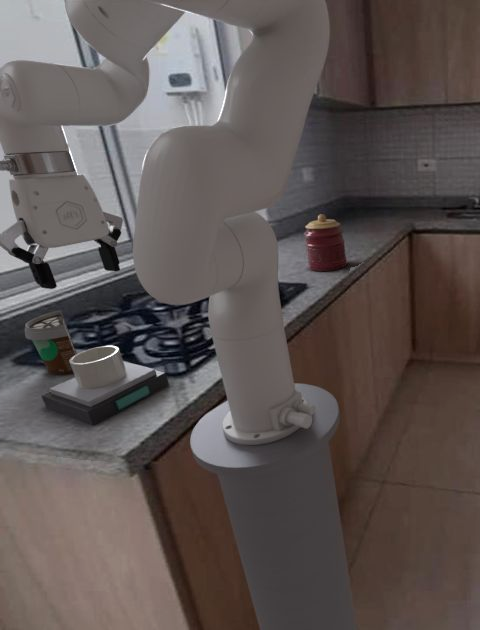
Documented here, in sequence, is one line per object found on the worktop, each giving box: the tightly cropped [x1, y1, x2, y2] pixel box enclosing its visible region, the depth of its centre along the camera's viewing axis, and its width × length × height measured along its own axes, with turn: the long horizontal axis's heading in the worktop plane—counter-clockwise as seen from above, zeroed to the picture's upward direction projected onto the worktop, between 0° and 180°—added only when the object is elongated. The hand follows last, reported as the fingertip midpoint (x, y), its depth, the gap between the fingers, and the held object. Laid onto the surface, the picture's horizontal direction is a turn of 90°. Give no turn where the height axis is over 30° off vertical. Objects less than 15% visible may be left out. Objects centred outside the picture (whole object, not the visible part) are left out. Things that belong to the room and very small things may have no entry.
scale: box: [41, 360, 170, 426], centre depth 75 cm, size 14×13×4 cm
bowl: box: [69, 345, 126, 389], centre depth 74 cm, size 7×7×4 cm
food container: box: [24, 310, 78, 376], centre depth 85 cm, size 12×6×10 cm, turn 40°
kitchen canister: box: [303, 213, 348, 272], centre depth 147 cm, size 13×13×18 cm
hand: (82, 278), depth 71 cm, fingers open, 9 cm apart
